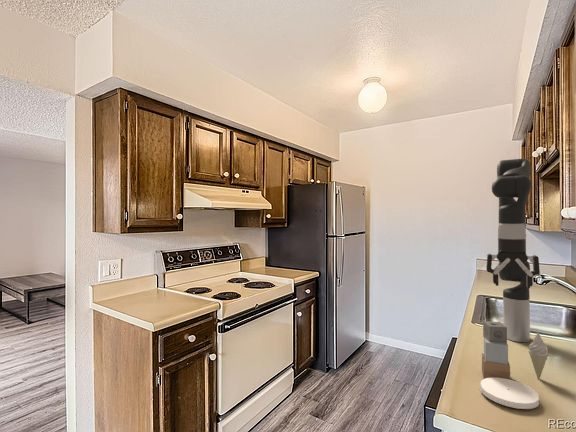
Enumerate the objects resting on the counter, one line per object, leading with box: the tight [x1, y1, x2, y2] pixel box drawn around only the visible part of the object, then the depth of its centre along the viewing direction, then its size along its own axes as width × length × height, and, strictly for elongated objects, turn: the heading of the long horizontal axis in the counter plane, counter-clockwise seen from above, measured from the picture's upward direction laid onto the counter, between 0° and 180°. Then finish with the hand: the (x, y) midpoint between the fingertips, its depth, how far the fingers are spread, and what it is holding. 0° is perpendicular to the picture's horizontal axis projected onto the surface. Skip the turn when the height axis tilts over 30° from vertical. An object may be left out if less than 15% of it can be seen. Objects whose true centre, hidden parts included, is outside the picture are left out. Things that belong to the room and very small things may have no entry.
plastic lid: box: [479, 377, 540, 410], centre depth 93 cm, size 14×14×2 cm
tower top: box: [483, 337, 509, 365], centre depth 105 cm, size 6×6×6 cm
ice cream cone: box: [528, 331, 549, 380], centre depth 104 cm, size 5×5×15 cm
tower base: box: [481, 352, 511, 380], centre depth 105 cm, size 7×7×6 cm
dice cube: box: [482, 320, 508, 344], centre depth 106 cm, size 5×5×5 cm
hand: (512, 286), depth 107 cm, fingers open, 8 cm apart
